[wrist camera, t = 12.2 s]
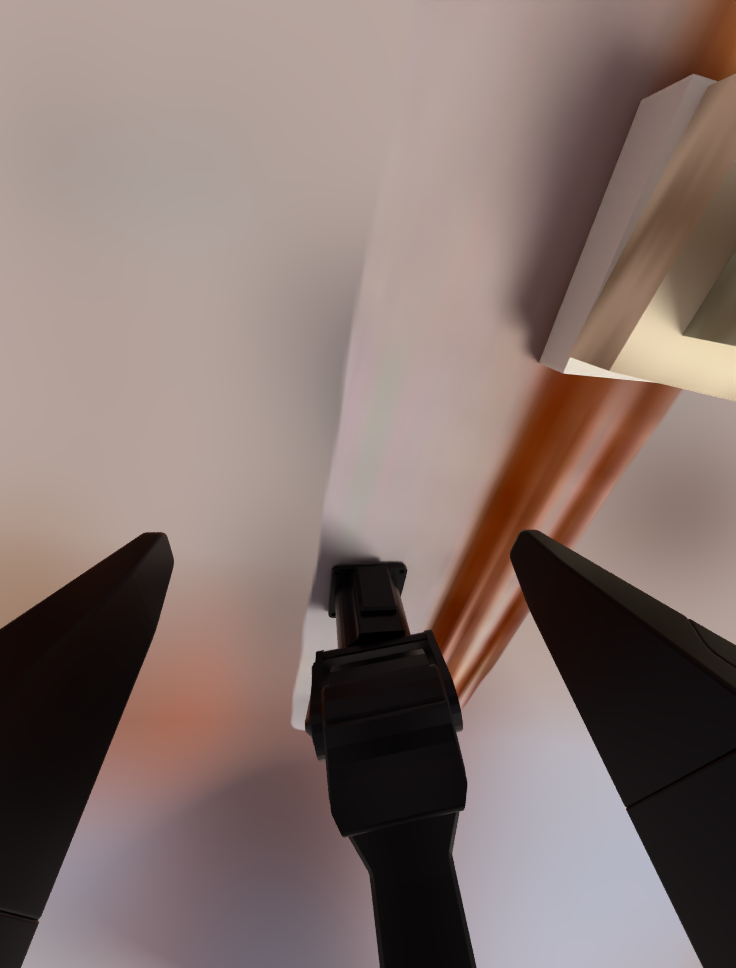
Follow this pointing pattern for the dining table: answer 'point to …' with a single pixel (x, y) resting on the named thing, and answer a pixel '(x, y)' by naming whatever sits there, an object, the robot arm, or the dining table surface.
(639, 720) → the robot arm
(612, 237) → the bottom slab
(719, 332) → the sage cube
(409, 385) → the dining table surface
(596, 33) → the dining table surface
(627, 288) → the top slab
